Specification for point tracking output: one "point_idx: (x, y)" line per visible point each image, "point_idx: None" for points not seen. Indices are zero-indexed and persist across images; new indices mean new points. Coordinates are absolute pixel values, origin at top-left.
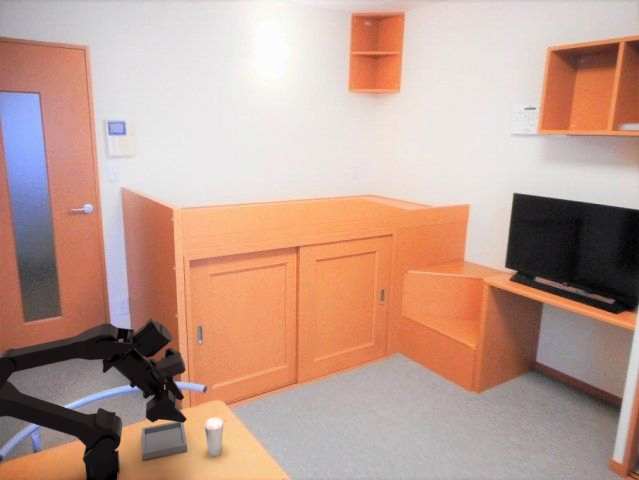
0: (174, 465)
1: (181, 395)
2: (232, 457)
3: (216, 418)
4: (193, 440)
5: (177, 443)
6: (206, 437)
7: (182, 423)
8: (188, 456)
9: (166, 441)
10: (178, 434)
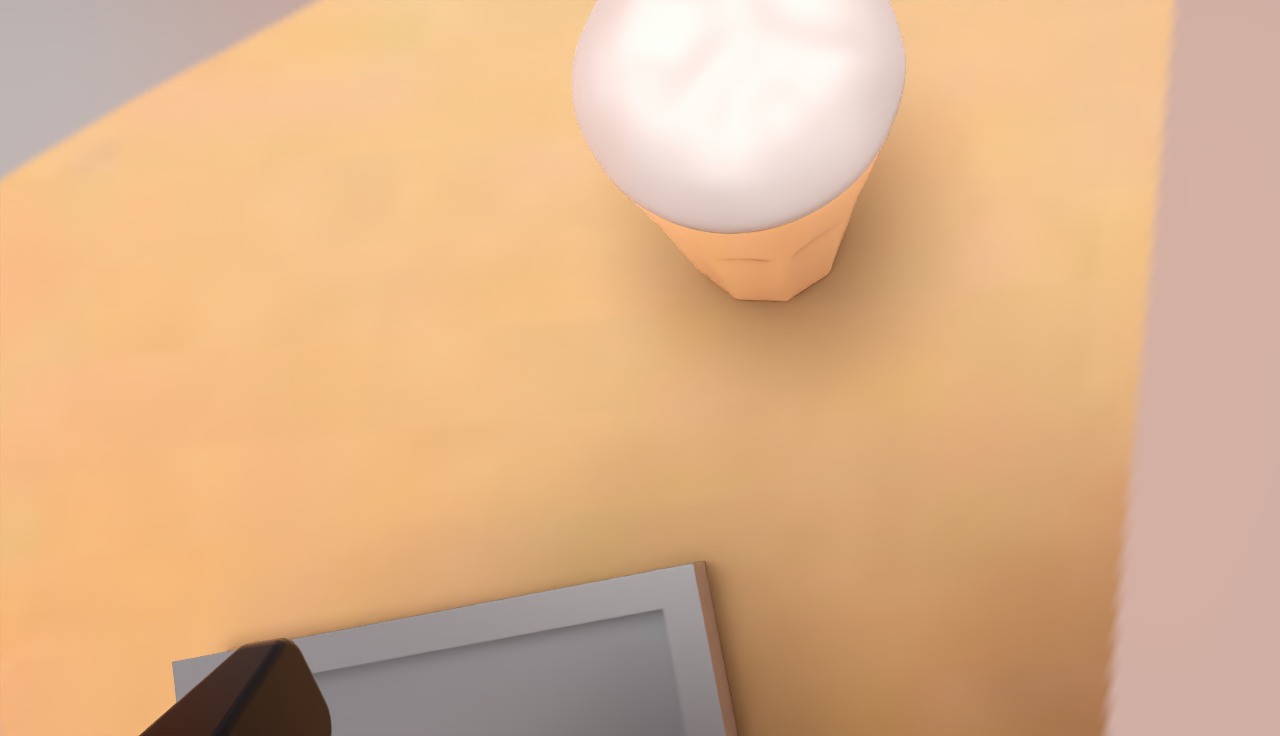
0: (944, 696)
1: (258, 723)
2: None
3: (659, 4)
4: (509, 501)
5: (562, 696)
6: (793, 254)
7: None
8: (798, 537)
9: None
10: (388, 699)
